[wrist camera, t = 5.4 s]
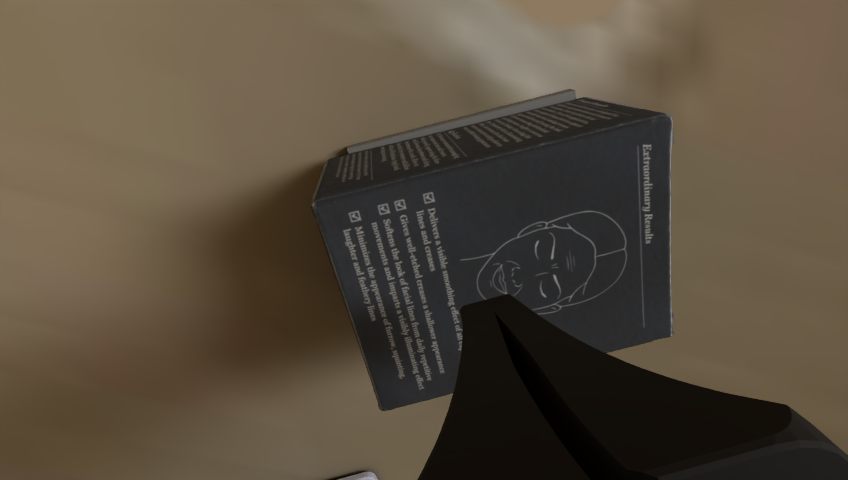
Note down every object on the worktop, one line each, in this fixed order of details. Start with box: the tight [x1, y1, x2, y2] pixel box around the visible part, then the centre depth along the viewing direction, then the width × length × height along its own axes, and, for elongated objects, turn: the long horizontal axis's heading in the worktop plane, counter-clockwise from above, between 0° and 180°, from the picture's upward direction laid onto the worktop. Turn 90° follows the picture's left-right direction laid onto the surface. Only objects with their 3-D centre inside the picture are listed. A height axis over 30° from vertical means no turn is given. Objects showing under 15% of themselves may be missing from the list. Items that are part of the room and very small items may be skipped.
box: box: [311, 97, 674, 411], centre depth 17 cm, size 8×6×11 cm
